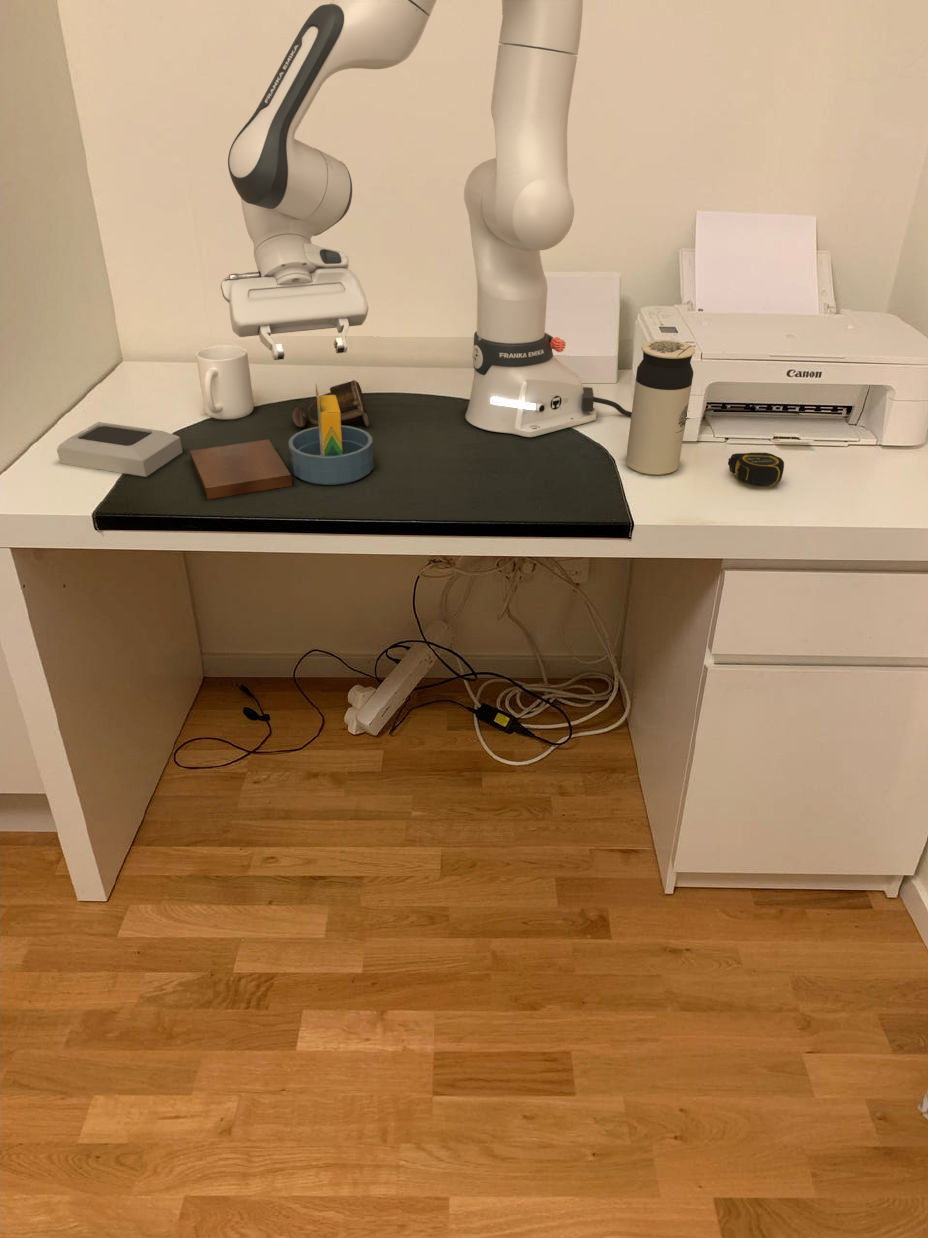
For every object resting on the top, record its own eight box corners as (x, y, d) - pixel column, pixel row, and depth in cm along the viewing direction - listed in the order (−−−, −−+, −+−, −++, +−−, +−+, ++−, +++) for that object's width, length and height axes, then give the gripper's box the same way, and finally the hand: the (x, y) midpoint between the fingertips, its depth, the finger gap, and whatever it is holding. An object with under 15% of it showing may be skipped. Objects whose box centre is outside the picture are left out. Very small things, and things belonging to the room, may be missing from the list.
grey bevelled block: (141, 453, 126) (54, 439, 129) (146, 476, 128) (60, 463, 131) (178, 429, 133) (95, 417, 137) (182, 452, 135) (100, 439, 139)
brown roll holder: (360, 407, 137) (378, 373, 144) (283, 393, 139) (304, 360, 145) (361, 444, 143) (379, 411, 149) (287, 430, 144) (307, 398, 151)
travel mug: (615, 466, 133) (629, 347, 123) (642, 450, 138) (657, 335, 128) (662, 481, 129) (680, 359, 118) (687, 464, 134) (707, 346, 124)
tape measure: (769, 471, 132) (774, 448, 130) (787, 491, 126) (793, 467, 124) (725, 472, 131) (730, 449, 129) (741, 492, 126) (746, 468, 124)
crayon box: (345, 475, 128) (339, 398, 121) (324, 477, 127) (318, 400, 121) (340, 455, 134) (335, 381, 127) (320, 457, 133) (314, 382, 127)
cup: (261, 404, 153) (254, 346, 147) (236, 429, 143) (228, 368, 137) (216, 401, 154) (207, 343, 148) (188, 426, 144) (178, 365, 138)
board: (270, 450, 136) (268, 439, 135) (292, 485, 126) (291, 474, 125) (191, 461, 132) (189, 450, 131) (207, 499, 122) (205, 487, 121)
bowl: (359, 447, 137) (357, 420, 135) (384, 478, 128) (383, 449, 126) (283, 459, 133) (279, 431, 131) (303, 491, 124) (300, 462, 122)
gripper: (218, 262, 123) (241, 350, 121) (357, 252, 130) (380, 336, 128) (217, 287, 129) (238, 372, 127) (349, 277, 136) (372, 357, 134)
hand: (311, 354), depth 128 cm, fingers open, 8 cm apart
